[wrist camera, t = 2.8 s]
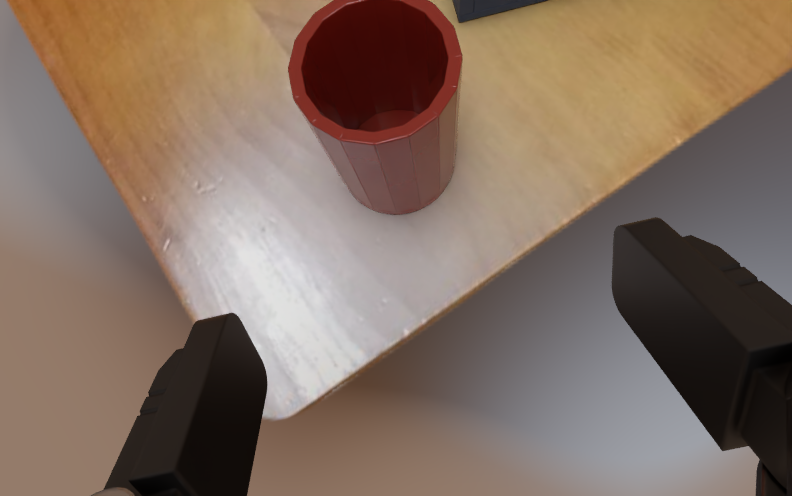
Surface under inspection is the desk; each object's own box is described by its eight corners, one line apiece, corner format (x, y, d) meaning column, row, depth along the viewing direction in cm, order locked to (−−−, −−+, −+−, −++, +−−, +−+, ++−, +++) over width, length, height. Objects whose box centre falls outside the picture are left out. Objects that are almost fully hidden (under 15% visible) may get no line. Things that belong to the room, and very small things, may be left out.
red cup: (352, 226, 25) (304, 162, 16) (331, 122, 26) (276, 11, 18) (467, 199, 25) (480, 119, 16) (439, 95, 26) (438, -32, 17)
